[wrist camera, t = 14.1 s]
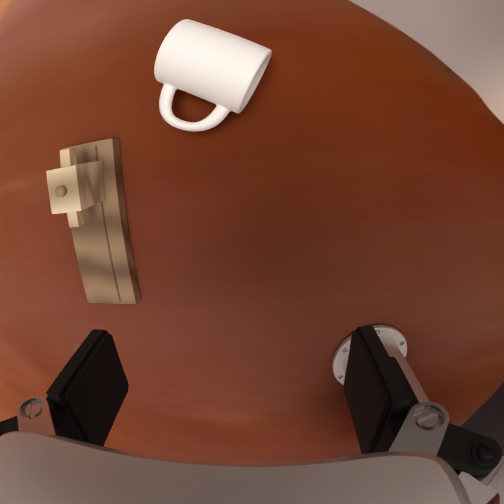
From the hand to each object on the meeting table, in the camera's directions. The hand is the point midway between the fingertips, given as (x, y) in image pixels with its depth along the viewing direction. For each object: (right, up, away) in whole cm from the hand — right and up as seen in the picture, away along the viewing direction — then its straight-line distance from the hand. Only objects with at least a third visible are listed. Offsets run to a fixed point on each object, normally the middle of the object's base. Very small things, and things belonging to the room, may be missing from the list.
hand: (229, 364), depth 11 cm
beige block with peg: (-20, +13, +23) cm, 33 cm away
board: (-19, +8, +27) cm, 34 cm away
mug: (-4, +24, +22) cm, 32 cm away
